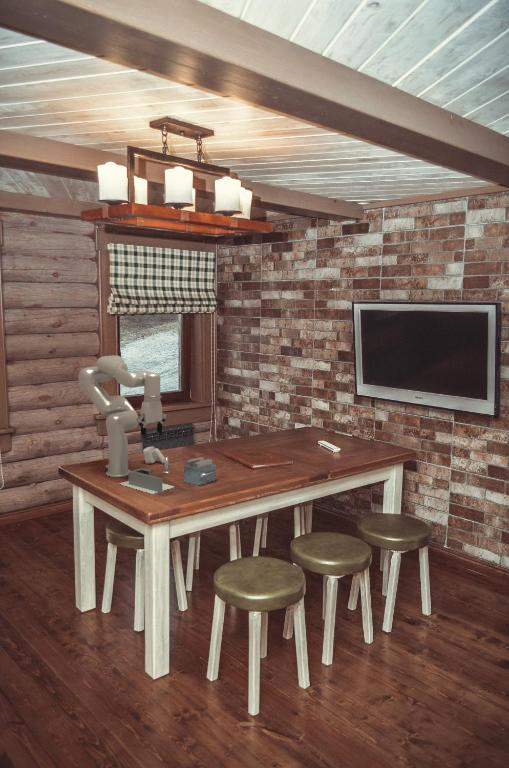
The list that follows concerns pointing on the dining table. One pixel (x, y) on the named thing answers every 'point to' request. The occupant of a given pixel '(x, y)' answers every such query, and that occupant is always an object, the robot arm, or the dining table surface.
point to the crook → (145, 479)
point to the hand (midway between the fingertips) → (151, 433)
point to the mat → (164, 487)
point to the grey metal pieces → (197, 471)
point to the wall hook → (152, 455)
